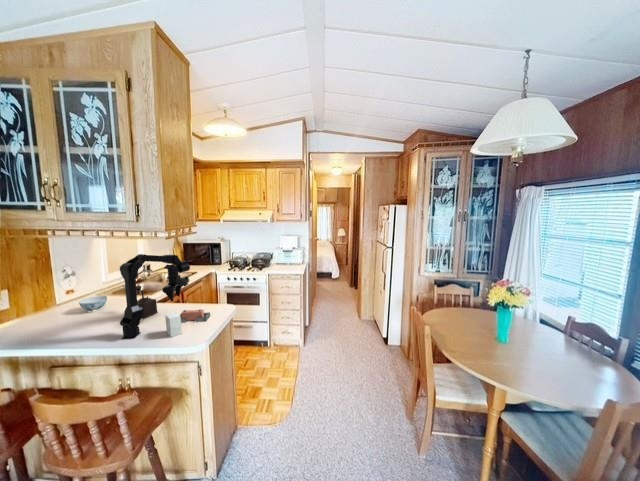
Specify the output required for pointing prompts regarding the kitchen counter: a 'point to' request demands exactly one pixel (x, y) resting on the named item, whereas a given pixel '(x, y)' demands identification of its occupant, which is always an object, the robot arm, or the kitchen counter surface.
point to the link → (192, 314)
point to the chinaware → (93, 303)
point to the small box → (173, 324)
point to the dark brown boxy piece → (146, 304)
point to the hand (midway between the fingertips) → (175, 298)
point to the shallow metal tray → (197, 318)
